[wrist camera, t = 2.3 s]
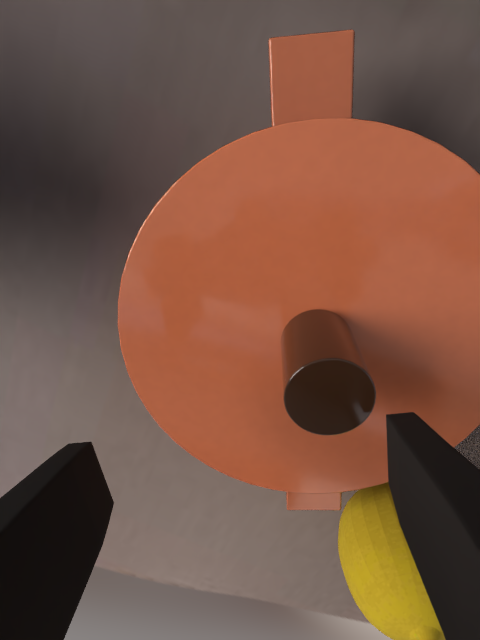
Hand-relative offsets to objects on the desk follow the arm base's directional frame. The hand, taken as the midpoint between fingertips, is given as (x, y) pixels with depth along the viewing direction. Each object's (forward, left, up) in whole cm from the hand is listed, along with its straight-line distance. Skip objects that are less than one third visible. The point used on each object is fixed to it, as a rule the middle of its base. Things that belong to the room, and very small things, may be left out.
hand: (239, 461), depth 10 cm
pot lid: (-2, -1, -5) cm, 6 cm away
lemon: (-6, +11, -10) cm, 17 cm away
